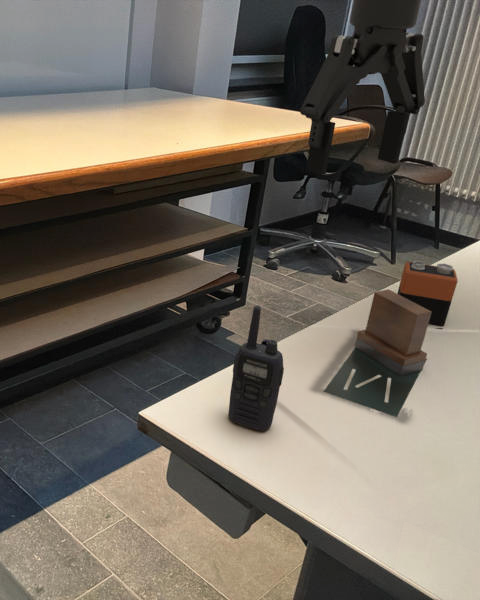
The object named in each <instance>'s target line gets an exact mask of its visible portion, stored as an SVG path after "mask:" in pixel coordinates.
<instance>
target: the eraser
mask: <svg viewBox="0 0 480 600" xmlns="http://www.w3.org/2000/svg"><path fill="white" fill-rule="evenodd" d="M397 293H398V292H397ZM397 293H396V292H395V291H392V290H391V289H384V290H383V289H382V290H378V291H375V292H374V294H373V298H372V301H371V305H370V306H371V307H370V311H369V314H368V319H367V322H366V327H365V329H361V330H358V331H357V334H356V339H355V343H354V348H355V347H356V348H357V349H359V350H360V351H362V352H363V353H365V354H367V355H368V356H370V357H371V358H373V359H374V360H376V361H377V362H379V363H381V364H382V365H384V366H385V367H387V368H388V369H390V370H392V371H393V372H395V373H396V374H398V375H399V376H402V375H406V374H410V373H413V372H417V371H420V370H421V371H423V370H424V367H425V364H426V362H425V360H426V358H427V357H428V353H427V352H425V351H424V350H422V347H423V344H424V341H425V336H426V333H427V331H428V326H429V324H428V323H429V320H430V316H431V313H432V312H431V311H429V310H427V309H426V308H424V307H422V306H420V305H418V304H416V303H414V302H412V301H410V300H408V299H406V298H404V297H402V296H400V295H399V294H397ZM426 361H427V360H426ZM424 363H425V364H424Z"/></svg>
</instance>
